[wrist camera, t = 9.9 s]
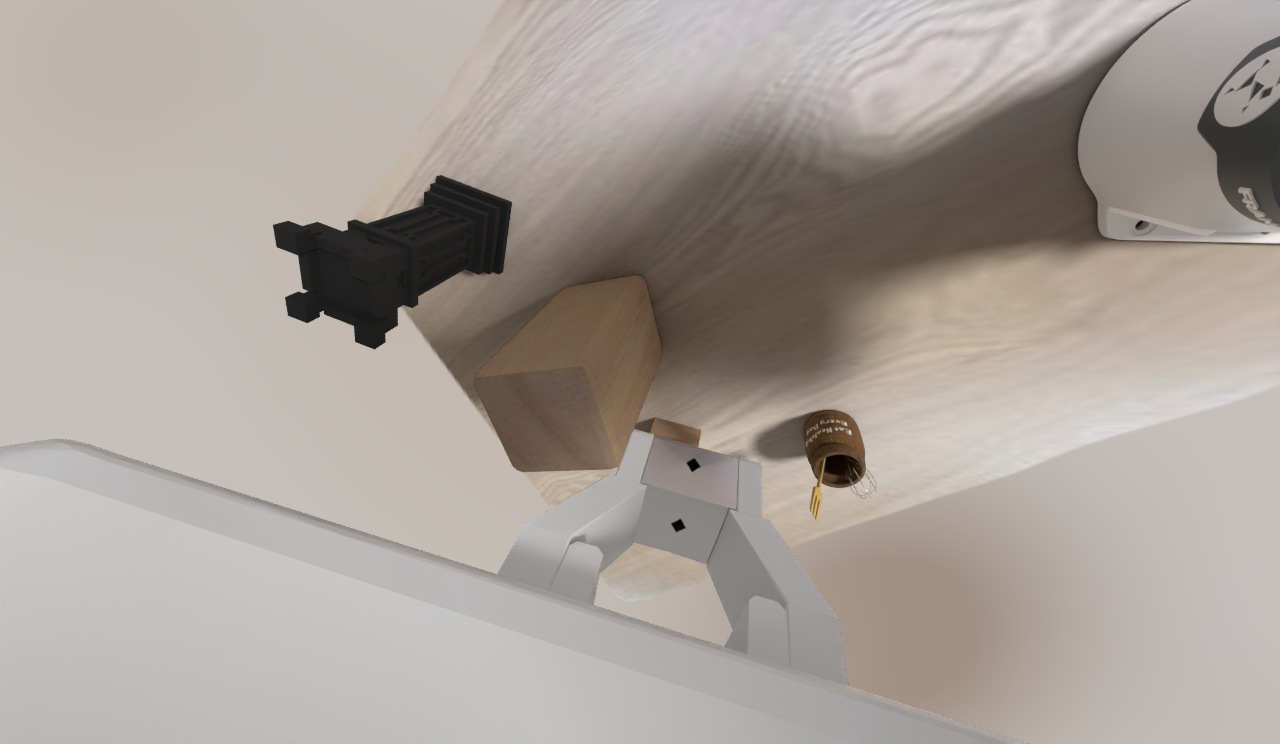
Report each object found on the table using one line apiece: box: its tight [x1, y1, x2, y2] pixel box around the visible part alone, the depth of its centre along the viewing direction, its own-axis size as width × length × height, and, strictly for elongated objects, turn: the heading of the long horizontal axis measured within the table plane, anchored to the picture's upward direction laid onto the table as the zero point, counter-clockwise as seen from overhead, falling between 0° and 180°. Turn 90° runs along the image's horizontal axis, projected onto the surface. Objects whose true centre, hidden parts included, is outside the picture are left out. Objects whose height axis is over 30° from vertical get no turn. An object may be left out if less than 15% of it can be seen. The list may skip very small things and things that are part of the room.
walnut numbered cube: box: [650, 418, 701, 447], centre depth 56 cm, size 6×6×6 cm
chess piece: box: [273, 175, 512, 349], centre depth 41 cm, size 8×8×20 cm
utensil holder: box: [804, 410, 876, 520], centre depth 47 cm, size 6×6×12 cm
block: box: [474, 275, 662, 472], centre depth 43 cm, size 10×10×20 cm
